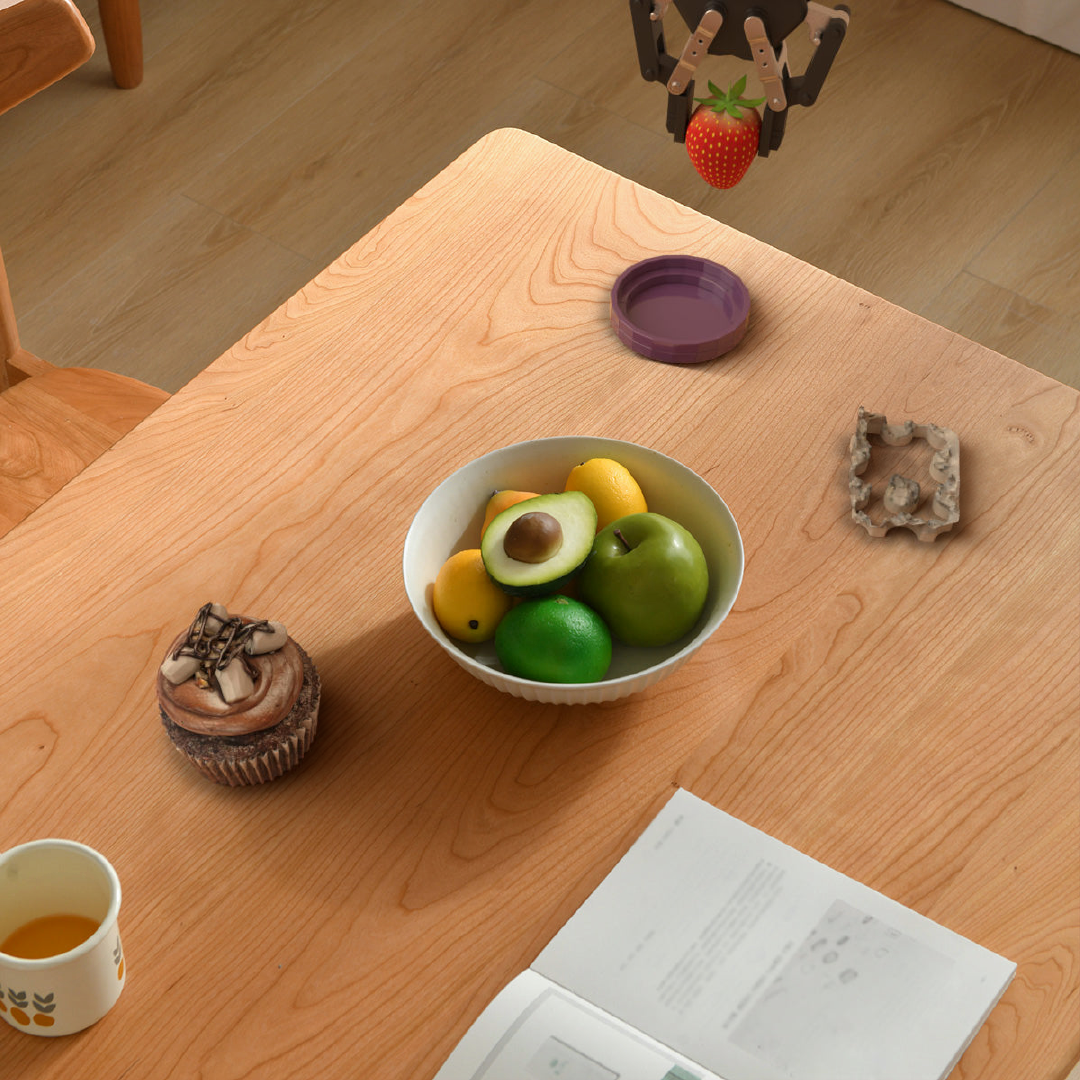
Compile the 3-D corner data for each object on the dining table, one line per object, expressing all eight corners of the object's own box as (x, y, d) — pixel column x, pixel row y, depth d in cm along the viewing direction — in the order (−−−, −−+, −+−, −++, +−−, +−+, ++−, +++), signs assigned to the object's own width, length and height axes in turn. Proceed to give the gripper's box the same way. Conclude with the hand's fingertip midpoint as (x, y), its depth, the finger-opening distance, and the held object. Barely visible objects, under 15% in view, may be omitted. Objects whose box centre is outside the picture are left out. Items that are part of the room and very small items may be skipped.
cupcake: (152, 795, 82) (111, 702, 74) (205, 665, 88) (172, 567, 80) (306, 819, 80) (280, 727, 73) (348, 685, 87) (329, 587, 79)
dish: (758, 293, 112) (762, 268, 110) (730, 381, 105) (734, 355, 103) (629, 269, 114) (630, 244, 112) (593, 353, 107) (594, 328, 105)
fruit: (757, 211, 92) (773, 106, 86) (681, 208, 92) (691, 104, 86) (753, 165, 96) (768, 61, 90) (679, 162, 96) (689, 59, 90)
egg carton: (846, 439, 101) (856, 399, 98) (949, 453, 100) (962, 412, 97) (839, 546, 94) (849, 506, 91) (950, 561, 93) (964, 522, 90)
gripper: (886, -123, 80) (837, 131, 92) (648, -154, 82) (633, 97, 95) (869, -65, 75) (819, 194, 88) (617, -100, 78) (605, 156, 90)
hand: (722, 142), depth 91 cm, fingers closed on fruit, 5 cm apart
